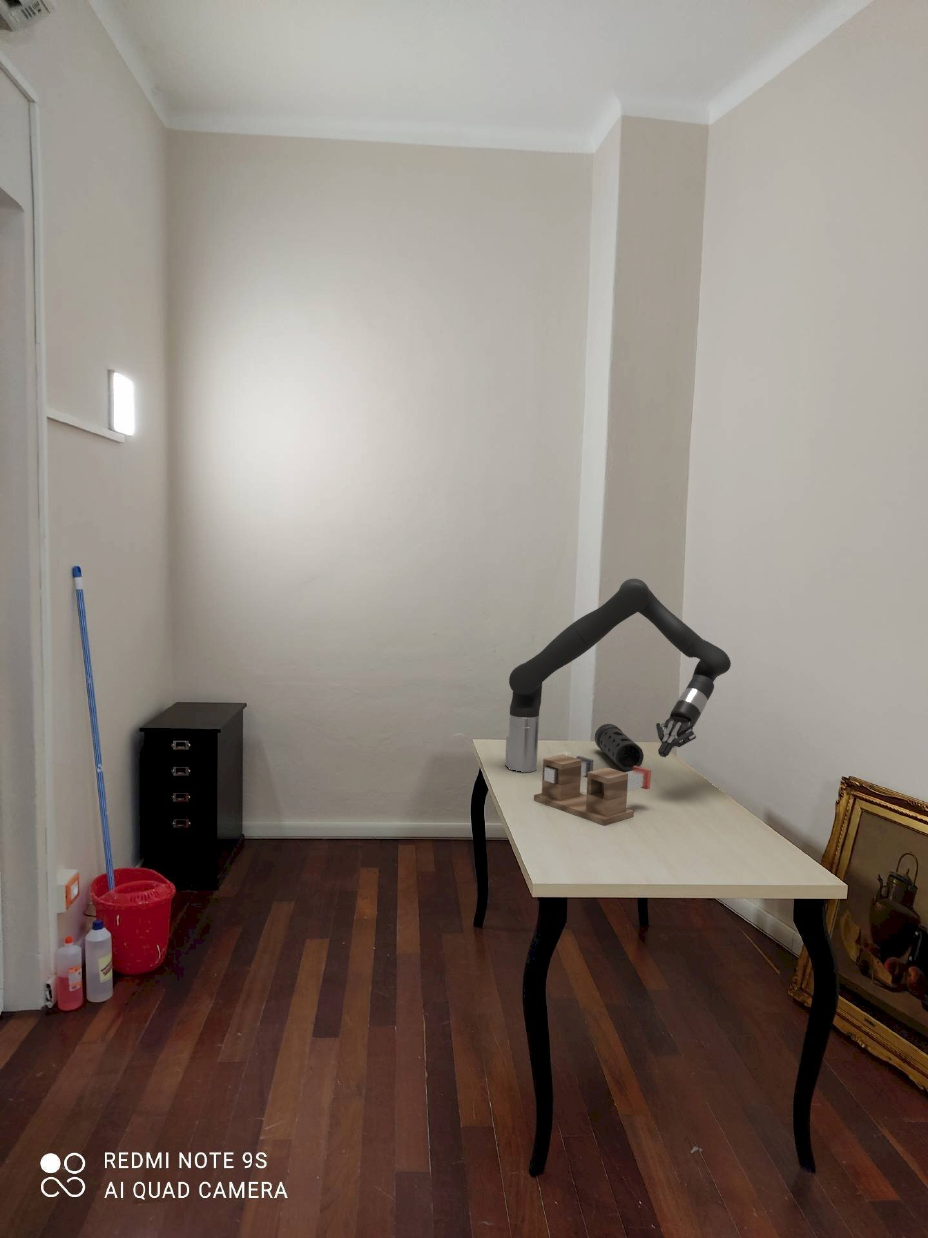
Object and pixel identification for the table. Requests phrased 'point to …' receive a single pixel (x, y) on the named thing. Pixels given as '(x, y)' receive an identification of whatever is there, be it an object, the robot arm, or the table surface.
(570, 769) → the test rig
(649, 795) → the table surface
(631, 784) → the red plug
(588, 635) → the robot arm
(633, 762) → the muzzle brake
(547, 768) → the charcoal plug
